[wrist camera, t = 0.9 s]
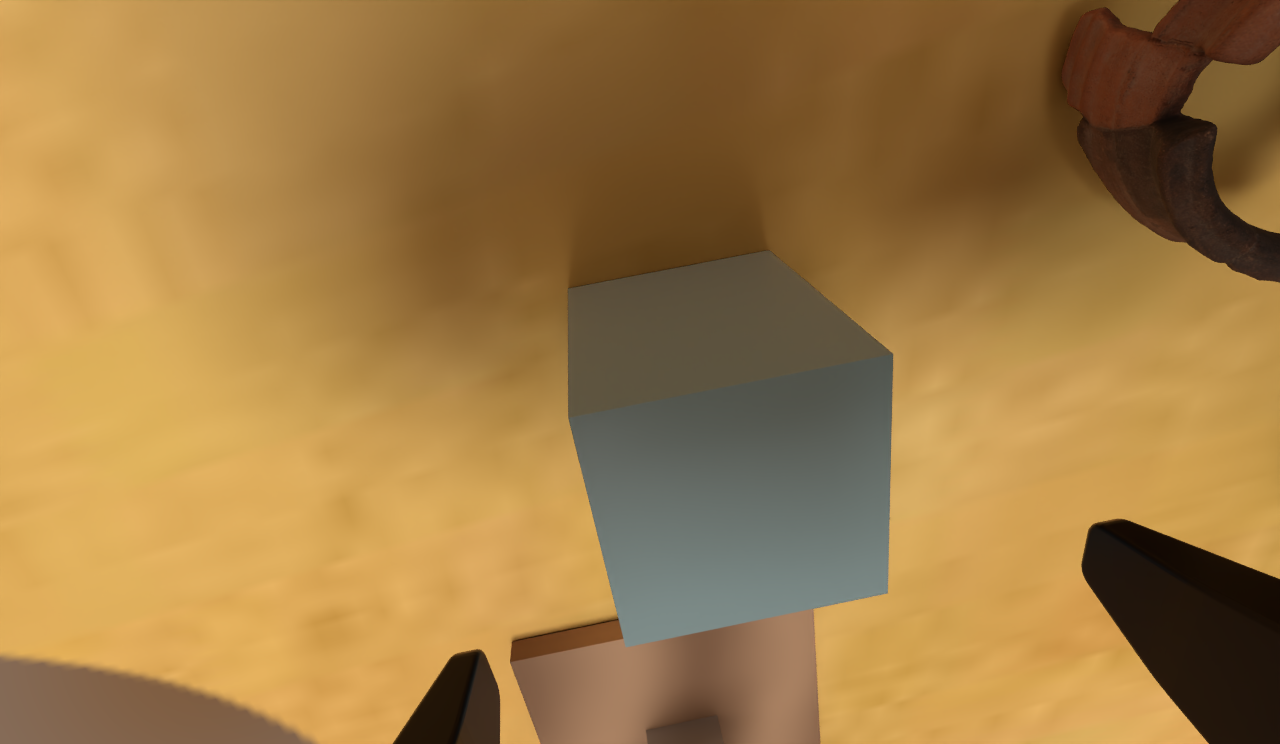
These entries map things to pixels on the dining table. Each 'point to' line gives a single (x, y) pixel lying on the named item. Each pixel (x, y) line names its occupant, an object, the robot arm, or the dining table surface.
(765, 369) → the grey-blue rectangular block
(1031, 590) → the dining table surface
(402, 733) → the robot arm
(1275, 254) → the brown looped piece
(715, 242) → the dining table surface
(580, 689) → the stand
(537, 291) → the dining table surface
